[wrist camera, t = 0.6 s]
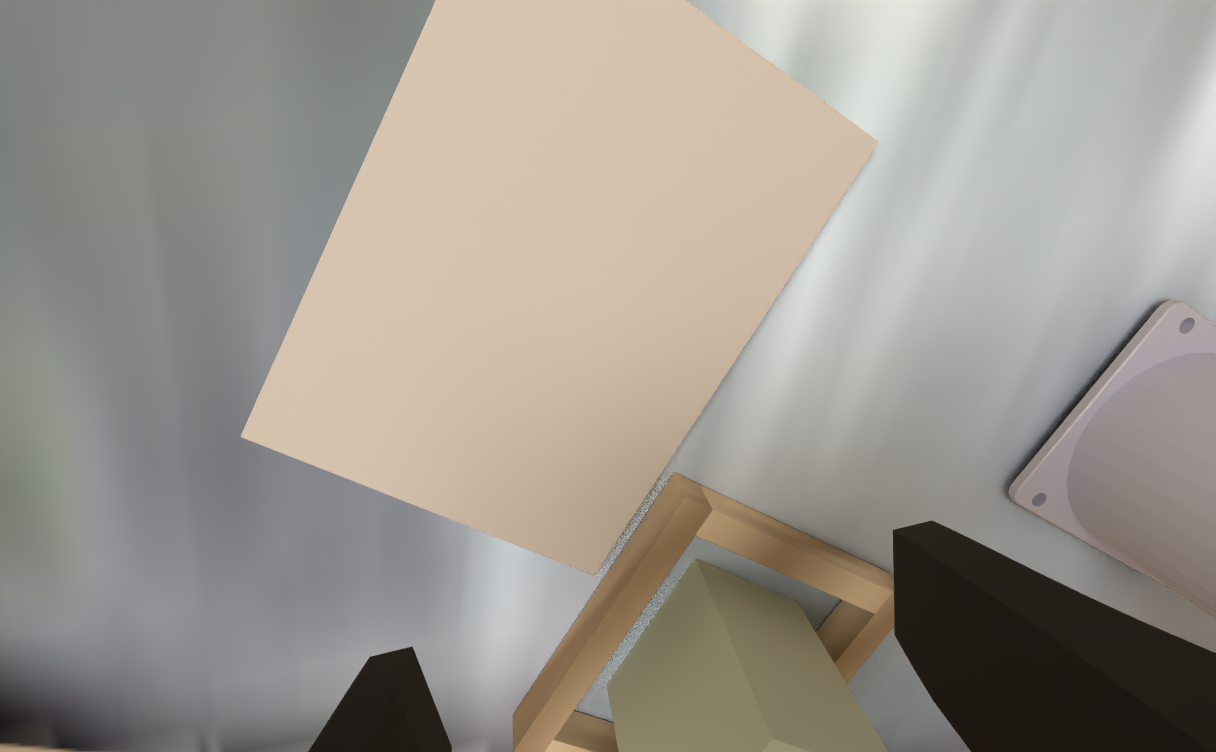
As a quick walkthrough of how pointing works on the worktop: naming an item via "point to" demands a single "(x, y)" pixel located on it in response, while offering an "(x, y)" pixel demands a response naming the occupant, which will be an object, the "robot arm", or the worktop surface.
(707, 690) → the green block
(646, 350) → the beige mat
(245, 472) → the worktop surface
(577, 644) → the wooden square frame
